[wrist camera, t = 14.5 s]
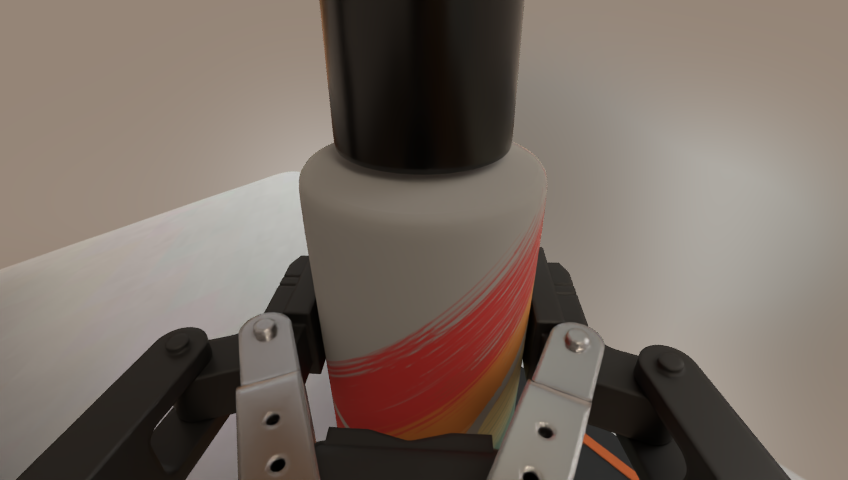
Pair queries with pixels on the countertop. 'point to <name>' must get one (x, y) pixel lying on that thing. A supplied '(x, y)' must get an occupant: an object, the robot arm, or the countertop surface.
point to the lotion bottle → (423, 216)
